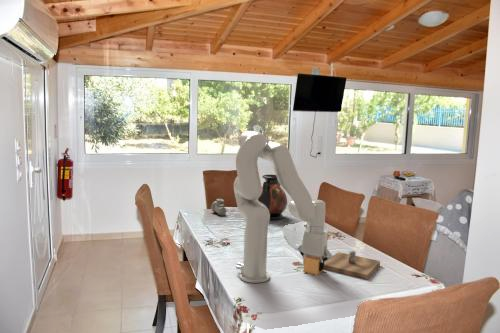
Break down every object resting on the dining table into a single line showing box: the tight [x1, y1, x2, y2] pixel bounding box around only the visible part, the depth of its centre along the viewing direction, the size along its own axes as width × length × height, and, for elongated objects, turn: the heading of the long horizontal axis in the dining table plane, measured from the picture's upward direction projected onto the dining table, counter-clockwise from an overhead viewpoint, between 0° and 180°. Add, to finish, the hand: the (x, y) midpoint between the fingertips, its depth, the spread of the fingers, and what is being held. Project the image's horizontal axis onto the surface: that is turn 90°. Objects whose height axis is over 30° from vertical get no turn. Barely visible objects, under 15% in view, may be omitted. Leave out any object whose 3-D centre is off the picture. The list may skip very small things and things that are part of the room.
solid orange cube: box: [302, 255, 324, 276], centre depth 171 cm, size 6×6×6 cm
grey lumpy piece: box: [210, 198, 228, 217], centre depth 267 cm, size 12×8×10 cm
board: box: [323, 250, 381, 280], centre depth 177 cm, size 20×20×7 cm
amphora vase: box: [258, 174, 288, 221], centre depth 260 cm, size 22×22×28 cm
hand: (313, 268), depth 172 cm, fingers closed on solid orange cube, 6 cm apart
